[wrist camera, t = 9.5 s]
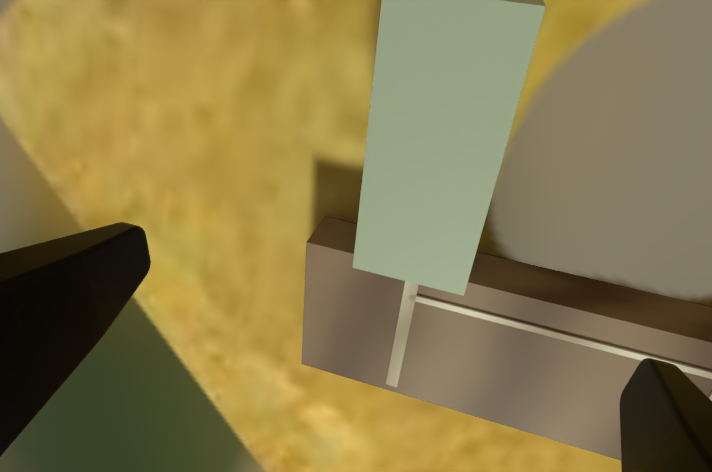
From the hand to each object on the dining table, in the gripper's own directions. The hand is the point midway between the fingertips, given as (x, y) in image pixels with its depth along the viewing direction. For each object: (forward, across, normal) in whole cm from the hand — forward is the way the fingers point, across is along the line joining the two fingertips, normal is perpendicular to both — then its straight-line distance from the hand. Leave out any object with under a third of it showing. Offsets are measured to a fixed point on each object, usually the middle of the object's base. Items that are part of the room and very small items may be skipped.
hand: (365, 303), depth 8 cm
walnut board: (+13, -6, +10) cm, 18 cm away
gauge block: (+13, 0, 0) cm, 13 cm away
